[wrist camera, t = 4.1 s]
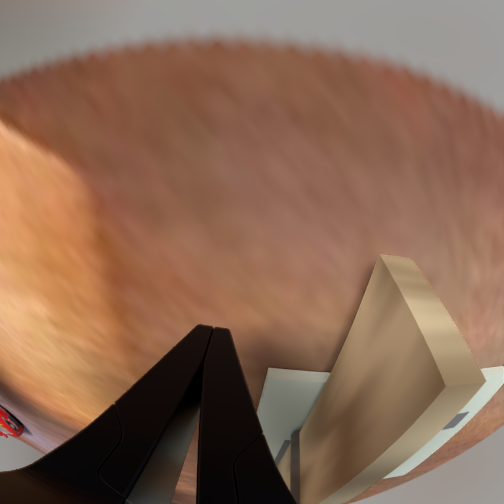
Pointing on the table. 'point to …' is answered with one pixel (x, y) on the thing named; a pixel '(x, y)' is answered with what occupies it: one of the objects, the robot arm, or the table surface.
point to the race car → (9, 425)
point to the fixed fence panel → (286, 466)
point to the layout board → (308, 390)
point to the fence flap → (383, 388)
